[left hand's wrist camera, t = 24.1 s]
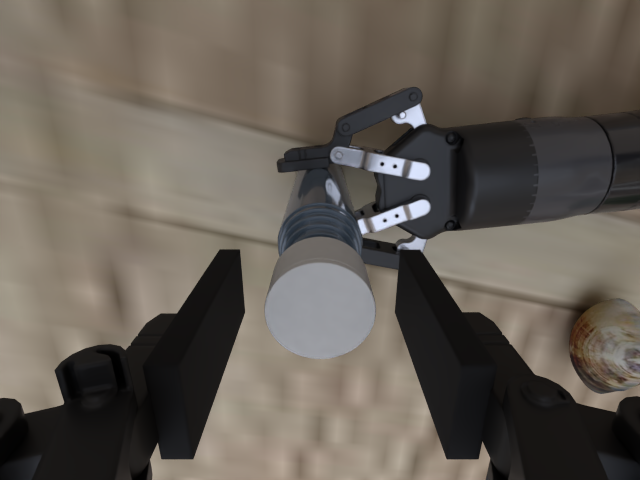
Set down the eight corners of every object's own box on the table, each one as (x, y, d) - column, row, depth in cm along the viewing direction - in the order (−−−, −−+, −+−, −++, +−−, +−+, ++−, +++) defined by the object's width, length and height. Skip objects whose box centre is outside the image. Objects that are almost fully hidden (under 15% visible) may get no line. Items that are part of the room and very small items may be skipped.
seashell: (573, 282, 38) (636, 327, 30) (627, 288, 38) (703, 334, 31) (543, 359, 41) (592, 416, 34) (593, 364, 41) (653, 422, 34)
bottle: (335, 203, 35) (358, 361, 14) (292, 191, 35) (249, 335, 14) (348, 160, 34) (396, 263, 13) (304, 147, 33) (276, 232, 12)
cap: (356, 326, 15) (363, 366, 13) (268, 313, 15) (258, 351, 13) (376, 243, 14) (387, 272, 12) (279, 228, 14) (271, 254, 12)
